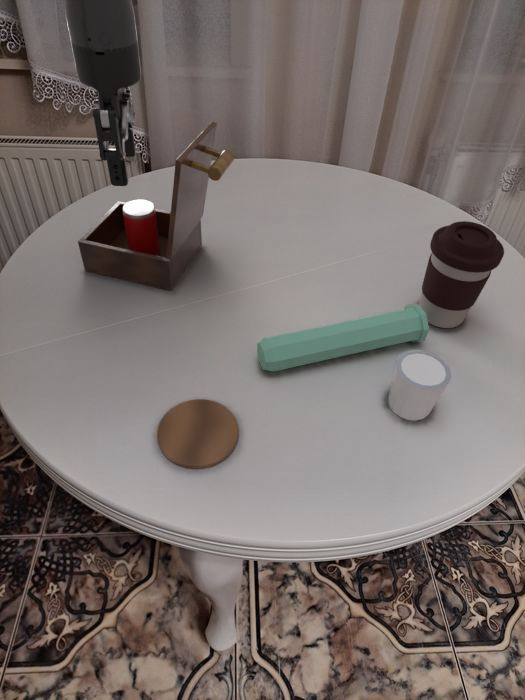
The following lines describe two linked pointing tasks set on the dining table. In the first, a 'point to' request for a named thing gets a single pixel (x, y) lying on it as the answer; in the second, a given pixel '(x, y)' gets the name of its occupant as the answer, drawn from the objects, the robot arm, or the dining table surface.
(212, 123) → the lid
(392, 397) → the white short cylinder
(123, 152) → the robot arm
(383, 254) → the dining table surface
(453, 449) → the dining table surface
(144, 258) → the chest
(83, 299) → the dining table surface
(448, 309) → the coffee cup
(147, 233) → the can
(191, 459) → the coaster
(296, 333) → the container
